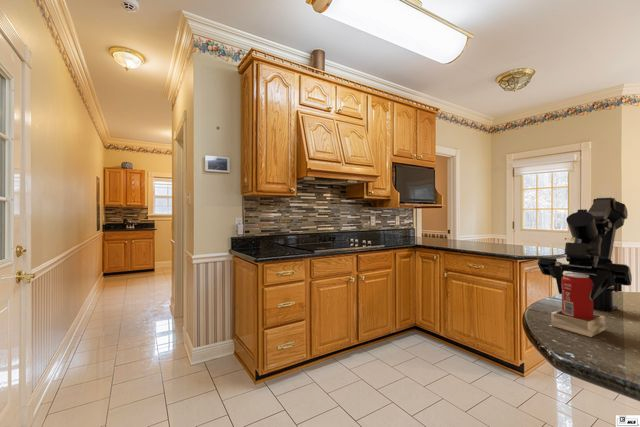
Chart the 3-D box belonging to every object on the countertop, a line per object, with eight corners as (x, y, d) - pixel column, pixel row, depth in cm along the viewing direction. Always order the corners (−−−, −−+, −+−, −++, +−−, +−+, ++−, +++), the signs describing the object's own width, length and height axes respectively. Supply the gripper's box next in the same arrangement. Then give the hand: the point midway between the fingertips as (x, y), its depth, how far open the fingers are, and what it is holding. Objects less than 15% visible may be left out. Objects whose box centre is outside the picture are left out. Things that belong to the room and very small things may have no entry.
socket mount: (566, 319, 83) (565, 307, 83) (605, 329, 76) (604, 316, 76) (551, 325, 79) (551, 313, 79) (591, 336, 72) (590, 322, 72)
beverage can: (600, 323, 74) (599, 277, 74) (574, 323, 75) (572, 277, 75) (581, 315, 81) (579, 272, 80) (556, 315, 81) (555, 272, 81)
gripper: (538, 230, 87) (525, 272, 81) (628, 232, 72) (620, 284, 66) (548, 253, 92) (536, 294, 86) (634, 260, 77) (628, 311, 71)
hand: (575, 295), depth 77 cm, fingers closed on beverage can, 6 cm apart
